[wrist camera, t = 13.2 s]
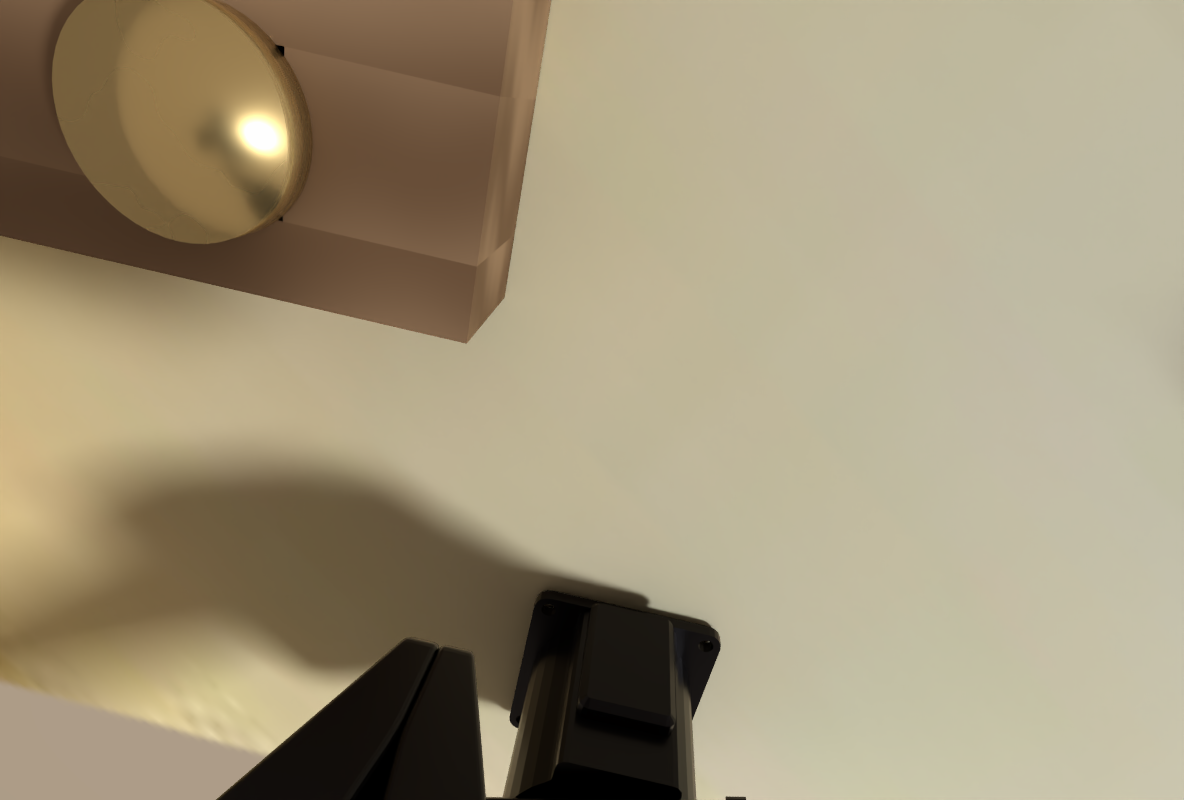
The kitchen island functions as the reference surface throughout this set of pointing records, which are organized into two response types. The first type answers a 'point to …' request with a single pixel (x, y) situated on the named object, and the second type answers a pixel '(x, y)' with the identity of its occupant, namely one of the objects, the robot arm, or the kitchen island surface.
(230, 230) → the gold metal dome
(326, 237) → the brown box
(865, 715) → the kitchen island surface
